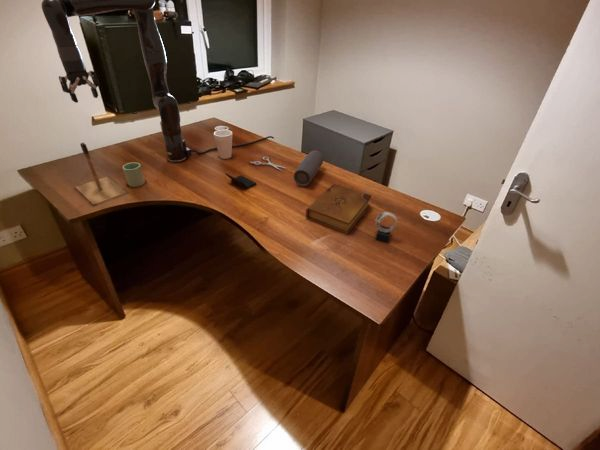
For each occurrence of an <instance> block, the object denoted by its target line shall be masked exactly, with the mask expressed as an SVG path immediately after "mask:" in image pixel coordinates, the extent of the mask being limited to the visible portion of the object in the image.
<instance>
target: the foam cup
mask: <svg viewBox="0 0 600 450" xmlns="http://www.w3.org/2000/svg"><path fill="white" fill-rule="evenodd" d="M233 135H234V134H233V131H232V130H229V129H218V130H215V131H214V132H213V139H214V141H215V146H216V148H217V149H216V150H217V152H218V156H219V158H220V159H223V160H226V159H230V158H232V156H233V155H232V153H233V147H232V146H233V137H234V136H233Z"/></svg>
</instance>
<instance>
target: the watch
mask: <svg viewBox="0 0 600 450" xmlns="http://www.w3.org/2000/svg"><path fill="white" fill-rule="evenodd" d="M387 217H389V218H392V219H393V220H394V221H395V223H393V225H391V226H390V227H389V226H385V225H381V223H382V222H383V221H384V220H385V218H387ZM374 223H375V228H376V229H377V233H376V237H375V240H376V241H379V242H383V243H388V241H389V238H390V236H391V235H390V234H391V232H393V231H394V230H395V229H396V228H397V226H398V217H397V216H396V214H394V213H393V212H390V211H382V212H380V213H379V214H378V215H377V217H376V218H375V220H374Z"/></svg>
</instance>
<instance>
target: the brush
mask: <svg viewBox="0 0 600 450" xmlns="http://www.w3.org/2000/svg"><path fill="white" fill-rule="evenodd" d="M80 148H81V150H82V151H81V152H82V153H83V155H84V157H85V160H86V162H87V164H88V166H89V169H90V171H91V174H92V177H93V179H94V181H95V182H96V184H97V187H98V189H99V190H102V187H101V184H100V181H99V179H100V178H99V176H98V174H97V171H96V169H95V166H94V164H93V161H92V158H91V155H90V152H89V149H88V146H87V144H86V143H85V142H80Z"/></svg>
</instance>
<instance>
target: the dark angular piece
mask: <svg viewBox="0 0 600 450" xmlns="http://www.w3.org/2000/svg"><path fill="white" fill-rule="evenodd" d="M224 175H226V176H227V177H228V178H229V179H230V180H231V182H232V183H234V184H236V185H239V186H240V187H242V188H244V189H246V190H248V189H251V188H252V187H254V186H256V185H257V182H255V181H253V180H251V179H249V178H247V177H245V176H243V175H238V176H236V177H234V176H233V175H231V174H228V173H226V172H225V173H224Z"/></svg>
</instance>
